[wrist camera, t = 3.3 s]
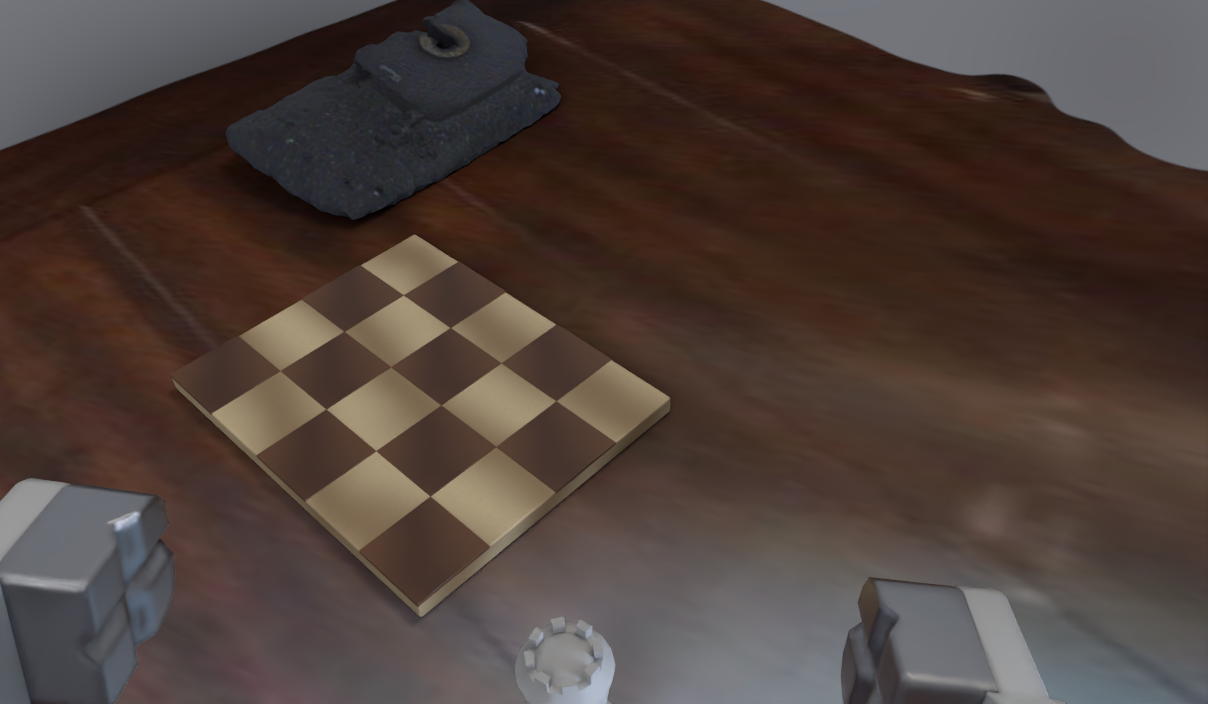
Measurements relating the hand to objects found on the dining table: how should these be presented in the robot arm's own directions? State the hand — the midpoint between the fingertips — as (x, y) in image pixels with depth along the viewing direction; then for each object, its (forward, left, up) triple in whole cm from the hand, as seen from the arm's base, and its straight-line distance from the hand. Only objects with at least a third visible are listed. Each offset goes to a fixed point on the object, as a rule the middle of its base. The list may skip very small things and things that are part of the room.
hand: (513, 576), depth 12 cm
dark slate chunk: (-31, -48, -27) cm, 64 cm away
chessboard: (-15, -26, -27) cm, 41 cm away
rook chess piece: (-7, -7, -27) cm, 29 cm away
